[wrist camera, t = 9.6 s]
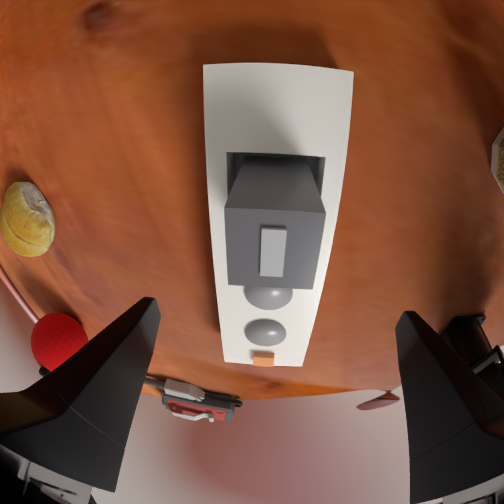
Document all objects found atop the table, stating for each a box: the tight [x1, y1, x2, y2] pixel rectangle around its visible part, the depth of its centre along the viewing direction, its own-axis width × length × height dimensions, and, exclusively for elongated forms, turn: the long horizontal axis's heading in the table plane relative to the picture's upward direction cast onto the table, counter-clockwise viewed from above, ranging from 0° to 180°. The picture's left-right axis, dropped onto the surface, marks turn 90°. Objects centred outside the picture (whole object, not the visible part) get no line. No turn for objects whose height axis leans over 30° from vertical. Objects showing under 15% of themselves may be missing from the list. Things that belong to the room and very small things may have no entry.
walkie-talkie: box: [144, 377, 242, 422], centre depth 38 cm, size 9×4×20 cm
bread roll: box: [0, 182, 55, 257], centre depth 20 cm, size 8×9×4 cm
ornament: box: [31, 313, 89, 377], centre depth 28 cm, size 9×9×10 cm
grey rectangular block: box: [224, 156, 326, 290], centre depth 15 cm, size 4×4×8 cm
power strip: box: [203, 63, 354, 367], centre depth 20 cm, size 8×26×4 cm, turn 179°
